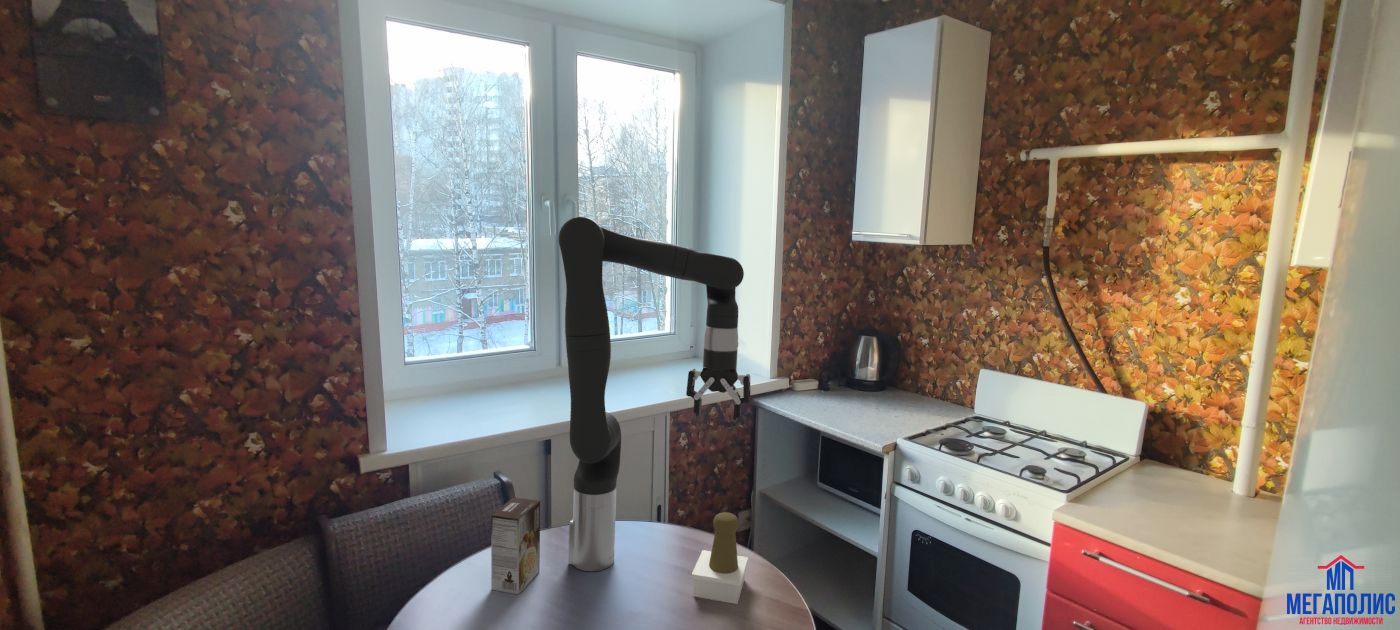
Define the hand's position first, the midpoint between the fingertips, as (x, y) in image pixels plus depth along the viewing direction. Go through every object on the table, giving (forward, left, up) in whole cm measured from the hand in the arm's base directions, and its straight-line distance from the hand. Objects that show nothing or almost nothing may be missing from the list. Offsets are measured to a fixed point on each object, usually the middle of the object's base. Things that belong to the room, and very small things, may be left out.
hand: (717, 417), depth 138 cm
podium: (+5, -14, -32) cm, 35 cm away
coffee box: (-36, -24, -32) cm, 54 cm away
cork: (+6, -14, -27) cm, 31 cm away
